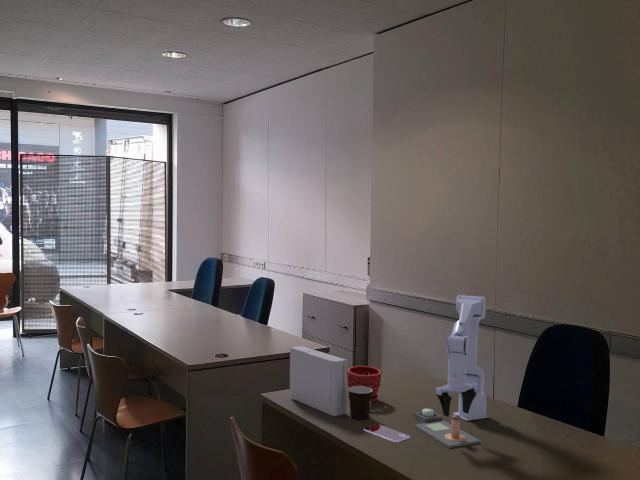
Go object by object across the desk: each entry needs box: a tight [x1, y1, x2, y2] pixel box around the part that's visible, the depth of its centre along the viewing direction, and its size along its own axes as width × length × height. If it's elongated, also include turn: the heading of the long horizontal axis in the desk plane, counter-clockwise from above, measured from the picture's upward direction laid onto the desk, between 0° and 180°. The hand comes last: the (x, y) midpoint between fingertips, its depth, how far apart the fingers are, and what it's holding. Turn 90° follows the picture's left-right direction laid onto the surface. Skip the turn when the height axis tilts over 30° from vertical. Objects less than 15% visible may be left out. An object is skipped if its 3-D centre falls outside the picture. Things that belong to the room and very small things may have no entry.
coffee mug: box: [347, 386, 373, 421], centre depth 220 cm, size 12×9×10 cm
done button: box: [421, 408, 435, 418], centre depth 217 cm, size 4×4×2 cm
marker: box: [451, 414, 461, 439], centre depth 199 cm, size 3×3×7 cm
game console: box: [289, 345, 348, 417], centre depth 231 cm, size 6×27×20 cm, turn 39°
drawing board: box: [414, 419, 481, 449], centre depth 204 cm, size 12×20×1 cm, turn 23°
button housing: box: [413, 411, 443, 424], centre depth 217 cm, size 7×7×2 cm
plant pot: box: [346, 365, 382, 404], centre depth 238 cm, size 13×13×12 cm
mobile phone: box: [363, 423, 411, 443], centre depth 204 cm, size 8×1×15 cm
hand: (455, 414), depth 199 cm, fingers open, 7 cm apart
